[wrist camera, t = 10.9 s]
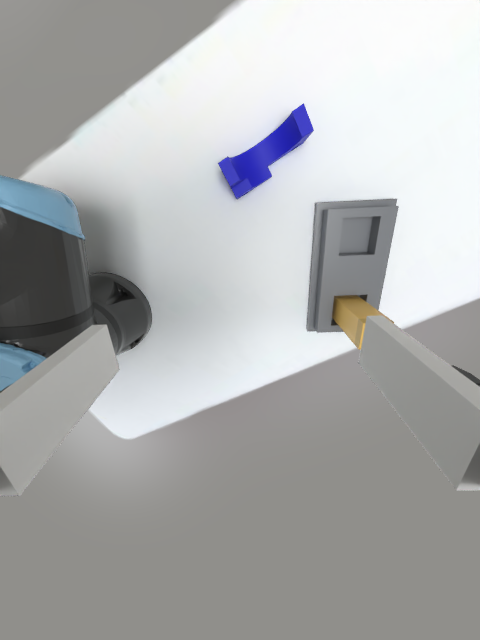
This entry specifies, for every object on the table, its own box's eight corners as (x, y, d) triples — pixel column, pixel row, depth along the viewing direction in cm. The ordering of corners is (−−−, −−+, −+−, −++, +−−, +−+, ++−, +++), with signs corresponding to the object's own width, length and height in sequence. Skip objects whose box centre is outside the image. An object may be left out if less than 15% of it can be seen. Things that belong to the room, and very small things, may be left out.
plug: (330, 316, 45) (358, 349, 34) (333, 295, 43) (363, 323, 32) (352, 315, 45) (388, 348, 34) (355, 294, 43) (394, 322, 32)
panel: (306, 329, 47) (311, 337, 44) (315, 203, 38) (322, 202, 35) (369, 327, 47) (379, 335, 44) (393, 199, 38) (407, 197, 35)
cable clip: (237, 199, 39) (235, 197, 33) (222, 170, 37) (218, 163, 32) (307, 153, 36) (318, 142, 30) (294, 121, 34) (303, 103, 29)
